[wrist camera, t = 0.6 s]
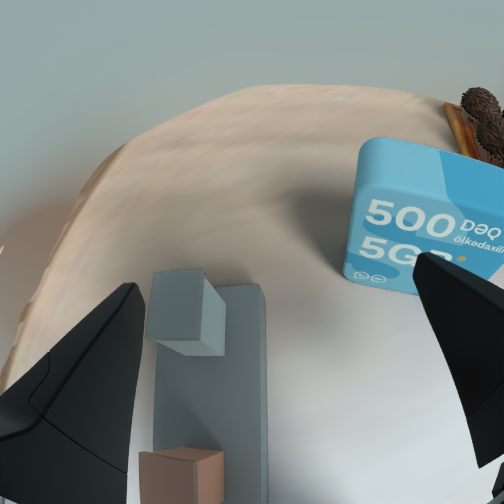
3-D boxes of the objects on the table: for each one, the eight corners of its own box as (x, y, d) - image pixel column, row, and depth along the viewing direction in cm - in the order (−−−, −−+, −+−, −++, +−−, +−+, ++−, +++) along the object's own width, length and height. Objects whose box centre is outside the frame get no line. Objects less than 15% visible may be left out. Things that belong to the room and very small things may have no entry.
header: (267, 505, 15) (261, 518, 12) (172, 494, 16) (154, 502, 14) (265, 298, 24) (258, 283, 22) (178, 303, 25) (164, 291, 23)
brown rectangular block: (235, 492, 15) (195, 527, 9) (195, 487, 16) (141, 514, 9) (234, 445, 18) (192, 462, 11) (195, 442, 18) (138, 452, 11)
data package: (340, 281, 24) (354, 180, 14) (349, 238, 26) (360, 131, 16) (462, 304, 20) (536, 226, 10) (462, 261, 22) (519, 173, 12)
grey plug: (234, 362, 21) (196, 337, 14) (197, 362, 22) (145, 337, 15) (235, 313, 23) (201, 268, 17) (199, 315, 24) (154, 272, 17)
